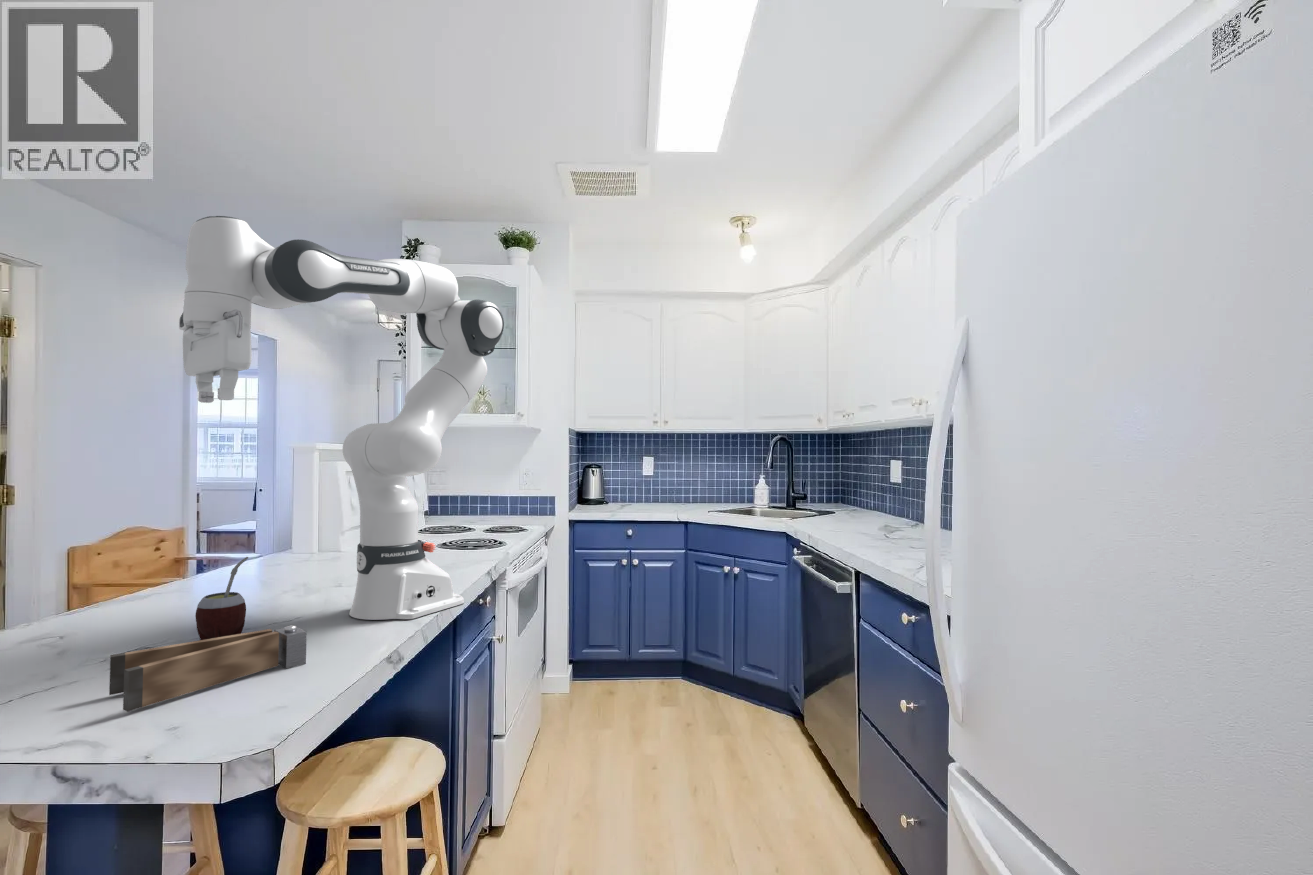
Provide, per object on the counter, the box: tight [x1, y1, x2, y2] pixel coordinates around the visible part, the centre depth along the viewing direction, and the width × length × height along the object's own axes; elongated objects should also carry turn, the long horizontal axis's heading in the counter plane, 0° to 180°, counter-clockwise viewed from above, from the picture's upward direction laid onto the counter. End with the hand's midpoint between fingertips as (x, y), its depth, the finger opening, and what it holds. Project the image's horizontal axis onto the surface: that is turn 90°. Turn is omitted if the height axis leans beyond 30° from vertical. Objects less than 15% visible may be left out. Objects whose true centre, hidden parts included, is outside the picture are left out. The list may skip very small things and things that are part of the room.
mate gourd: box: [194, 556, 249, 640], centre depth 105 cm, size 8×8×15 cm
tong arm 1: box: [108, 628, 273, 696], centre depth 87 cm, size 18×1×5 cm, turn 132°
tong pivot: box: [273, 624, 307, 670], centre depth 95 cm, size 3×5×6 cm, turn 52°
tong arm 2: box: [122, 631, 279, 712], centre depth 84 cm, size 18×1×5 cm, turn 152°
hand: (215, 401), depth 98 cm, fingers open, 8 cm apart
